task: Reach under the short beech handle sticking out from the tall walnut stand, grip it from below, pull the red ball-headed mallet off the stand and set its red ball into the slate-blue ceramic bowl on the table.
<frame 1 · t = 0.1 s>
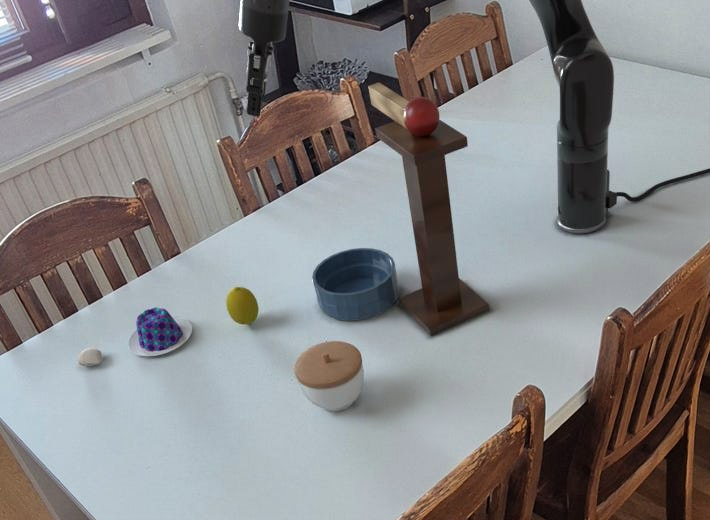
hand: (255, 104, 140), 31 cm above the table, tool tilted 20°, fingers open, 8 cm apart
plant stand: (443, 307, 146), on the table
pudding: (162, 339, 151), on the table
bowl: (359, 298, 152), on the table
lemon: (249, 325, 151), on the table
trinket box: (337, 399, 133), on the table
mallet: (421, 116, 121), point 35 cm above the table, touching plant stand
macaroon: (95, 364, 148), on the table
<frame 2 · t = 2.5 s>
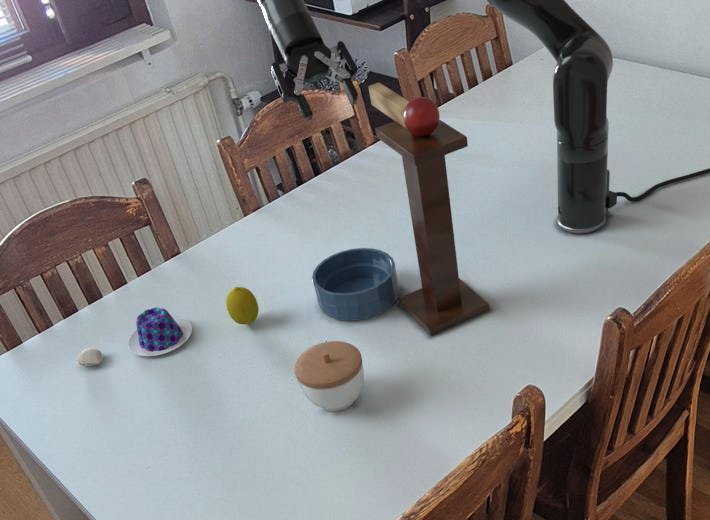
hand: (332, 110, 142), 29 cm above the table, tool tilted 45°, fingers open, 8 cm apart
nothing on the table moved.
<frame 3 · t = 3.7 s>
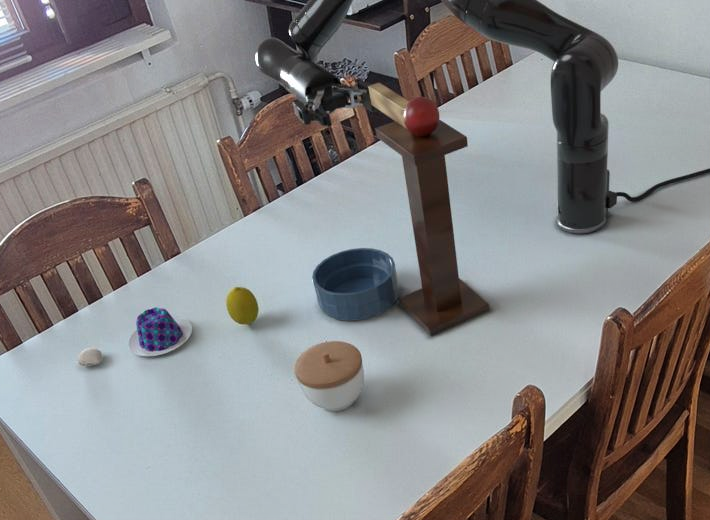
hand: (351, 113, 141), 28 cm above the table, tool horizontal, fingers open, 8 cm apart
nothing on the table moved.
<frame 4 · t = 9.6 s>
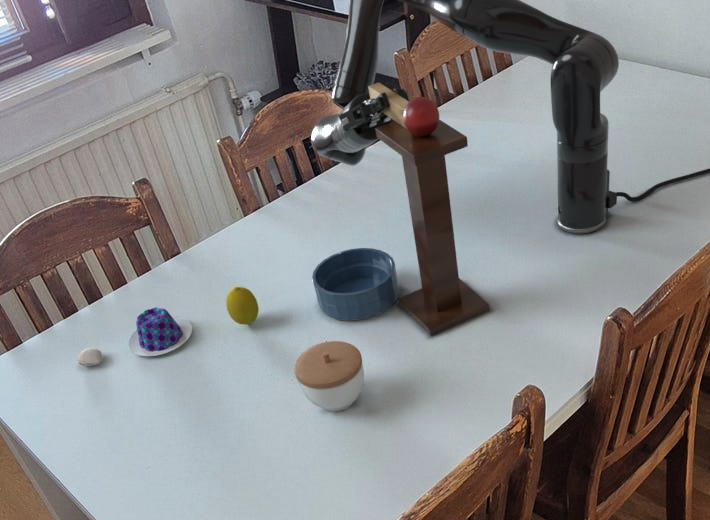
hand: (393, 97, 126), 35 cm above the table, tool pointing upward, fingers closed on mallet
mallet: (421, 116, 121), point 35 cm above the table, touching gripper, plant stand
everything else where it was.
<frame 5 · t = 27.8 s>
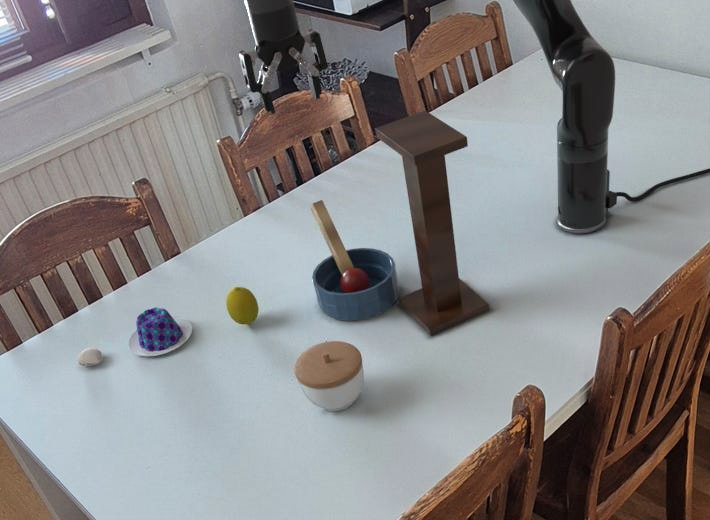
hand: (294, 105, 141), 30 cm above the table, tool pointing down, fingers open, 8 cm apart
mallet: (355, 282, 150), point 3 cm above the table, tilted 44°, touching bowl
everything else where it was.
at the end: mallet inside the target area in the bowl (0.3 cm from its centre), point 3.3 cm above the bowl's base; the gripper is holding nothing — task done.
